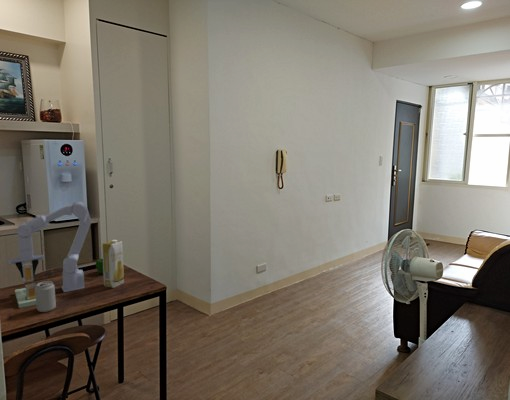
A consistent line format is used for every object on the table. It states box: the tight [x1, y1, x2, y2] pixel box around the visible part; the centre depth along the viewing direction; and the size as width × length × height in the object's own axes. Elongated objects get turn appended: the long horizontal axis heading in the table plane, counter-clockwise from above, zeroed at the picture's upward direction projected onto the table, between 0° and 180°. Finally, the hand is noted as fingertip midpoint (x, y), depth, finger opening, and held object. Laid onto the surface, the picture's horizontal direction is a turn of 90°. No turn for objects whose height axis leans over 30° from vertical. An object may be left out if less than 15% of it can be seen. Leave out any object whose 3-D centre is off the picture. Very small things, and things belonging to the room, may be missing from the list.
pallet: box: [14, 285, 37, 309], centre depth 177 cm, size 11×20×2 cm, turn 37°
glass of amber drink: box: [24, 282, 37, 300], centre depth 173 cm, size 4×4×8 cm
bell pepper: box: [95, 257, 103, 275], centre depth 213 cm, size 8×8×10 cm
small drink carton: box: [22, 262, 34, 284], centre depth 180 cm, size 4×4×8 cm
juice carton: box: [101, 239, 125, 289], centre depth 194 cm, size 9×8×24 cm
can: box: [35, 280, 57, 313], centre depth 165 cm, size 8×8×12 cm
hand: (28, 276), depth 180 cm, fingers closed on small drink carton, 4 cm apart
